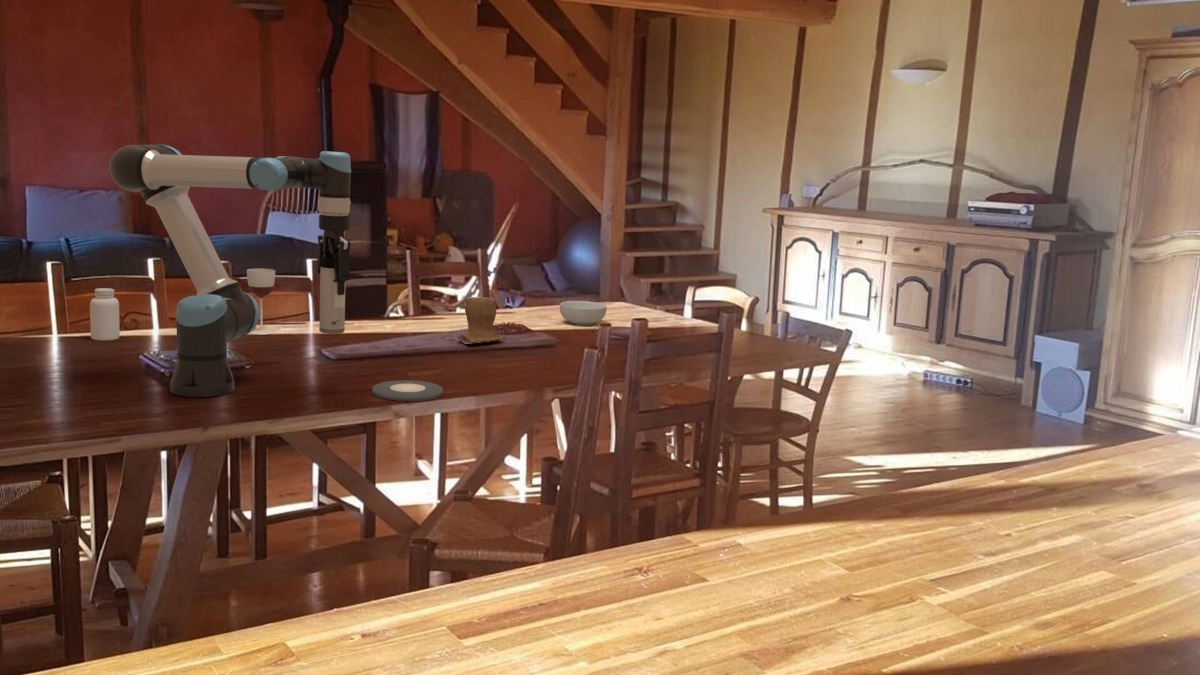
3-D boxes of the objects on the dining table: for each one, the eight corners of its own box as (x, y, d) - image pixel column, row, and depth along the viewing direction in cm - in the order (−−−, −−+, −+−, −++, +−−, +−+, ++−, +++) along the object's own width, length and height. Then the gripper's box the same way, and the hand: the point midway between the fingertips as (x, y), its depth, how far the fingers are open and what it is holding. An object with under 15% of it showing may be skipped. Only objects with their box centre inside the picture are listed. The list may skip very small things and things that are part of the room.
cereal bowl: (554, 325, 390) (555, 305, 388) (564, 318, 406) (564, 299, 405) (601, 329, 387) (602, 309, 386) (608, 321, 403) (610, 302, 402)
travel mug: (339, 335, 275) (340, 256, 271) (315, 332, 276) (316, 254, 272) (349, 331, 281) (351, 253, 277) (326, 328, 282) (327, 251, 278)
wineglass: (271, 335, 345) (270, 272, 342) (243, 333, 345) (243, 271, 342) (278, 330, 353) (278, 269, 349) (251, 329, 353) (251, 267, 349)
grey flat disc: (393, 404, 269) (393, 399, 269) (359, 389, 283) (359, 383, 283) (456, 396, 281) (456, 391, 280) (420, 382, 294) (420, 377, 294)
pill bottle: (125, 338, 328) (124, 289, 326) (101, 342, 322) (99, 292, 319) (109, 335, 333) (108, 286, 330) (85, 338, 326) (83, 288, 323)
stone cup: (484, 337, 361) (485, 292, 359) (507, 343, 353) (509, 297, 351) (447, 341, 351) (448, 295, 348) (471, 348, 343) (472, 300, 340)
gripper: (365, 218, 268) (363, 310, 272) (331, 210, 283) (329, 298, 287) (337, 218, 263) (335, 312, 268) (304, 210, 278) (302, 299, 282)
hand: (332, 304), depth 277 cm, fingers closed on travel mug, 6 cm apart
